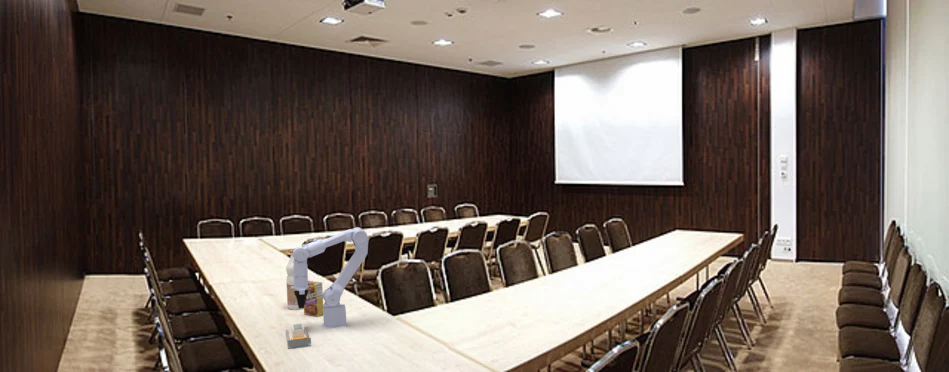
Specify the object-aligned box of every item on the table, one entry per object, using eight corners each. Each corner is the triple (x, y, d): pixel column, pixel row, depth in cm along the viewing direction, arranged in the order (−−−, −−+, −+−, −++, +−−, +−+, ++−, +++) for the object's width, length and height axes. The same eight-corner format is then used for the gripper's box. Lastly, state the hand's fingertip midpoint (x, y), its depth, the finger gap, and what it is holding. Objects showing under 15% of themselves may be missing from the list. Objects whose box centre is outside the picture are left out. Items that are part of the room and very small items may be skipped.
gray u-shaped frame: (310, 330, 247) (309, 322, 247) (314, 346, 226) (314, 337, 226) (282, 334, 243) (282, 325, 243) (284, 350, 222) (284, 341, 222)
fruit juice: (292, 311, 279) (289, 252, 277) (284, 307, 286) (282, 250, 284) (311, 307, 285) (308, 249, 283) (303, 303, 292) (300, 247, 290)
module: (303, 339, 234) (302, 323, 234) (304, 344, 228) (303, 328, 228) (292, 340, 233) (292, 324, 233) (293, 345, 227) (292, 329, 226)
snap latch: (307, 343, 228) (306, 336, 228) (307, 345, 226) (307, 337, 226) (291, 345, 226) (291, 338, 226) (291, 347, 224) (291, 339, 224)
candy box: (303, 314, 272) (301, 282, 271) (309, 312, 276) (308, 280, 275) (317, 317, 267) (315, 283, 267) (324, 314, 271) (322, 281, 270)
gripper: (289, 273, 253) (290, 304, 254) (291, 279, 239) (292, 313, 240) (306, 272, 255) (307, 303, 256) (309, 278, 242) (310, 311, 242)
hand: (301, 307), depth 248 cm, fingers closed
